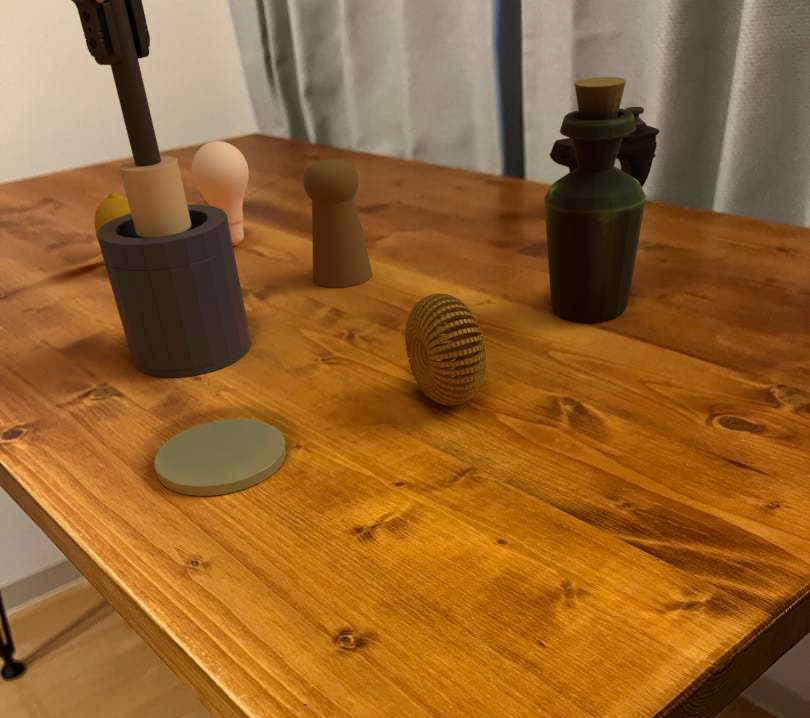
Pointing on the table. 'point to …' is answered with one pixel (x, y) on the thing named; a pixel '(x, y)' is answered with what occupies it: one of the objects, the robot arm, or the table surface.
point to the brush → (145, 148)
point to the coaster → (220, 457)
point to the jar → (178, 294)
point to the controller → (631, 154)
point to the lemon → (111, 209)
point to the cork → (336, 225)
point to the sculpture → (445, 349)
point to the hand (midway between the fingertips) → (123, 59)
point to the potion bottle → (594, 210)
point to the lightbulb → (222, 181)
